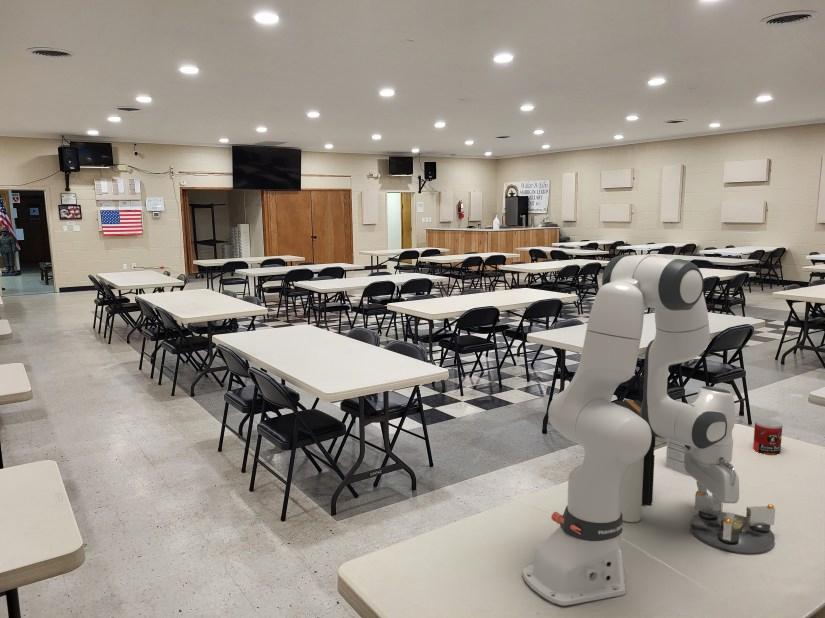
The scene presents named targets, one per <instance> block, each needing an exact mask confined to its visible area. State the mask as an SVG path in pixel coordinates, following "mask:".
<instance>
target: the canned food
mask: <svg viewBox="0 0 825 618" xmlns="http://www.w3.org/2000/svg"><path fill="white" fill-rule="evenodd" d="M754 421H755V422H754V428H753V429H754V432H753V448H752V449H754V450H755V451H754V450H753V451H754V452H756V453H757V452H758V454H760V453H761V455H764V454H765V455H764V456H778V455H777V454H779V455H781V448H782V439H783V438H782V437H783V423H781V422H779V421H777V420H776V419H775V420H774V419H769V418H759V419H755V420H754Z"/></svg>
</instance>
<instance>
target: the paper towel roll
mask: <svg viewBox="0 0 825 618" xmlns="http://www.w3.org/2000/svg"><path fill="white" fill-rule="evenodd" d="M643 465H644V457H643V458H642V459H641V460H639V461H637V462H635V463H633V464H632V465H631V466H630V467H629V469H628V470H627V472H626V475H625V477H624V481H623V486H622V499H621V513H622V515H623V522H628V523H637V522H639V521H641V519H642V509H643V507H642V504H643V503H642V487H643Z"/></svg>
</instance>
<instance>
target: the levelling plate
mask: <svg viewBox="0 0 825 618" xmlns="http://www.w3.org/2000/svg"><path fill="white" fill-rule="evenodd" d="M734 514H735V522H734V531H733V532H735V533H737V534H738V535H739V542H738V543H737V544H728V543H724V542H722V541H720V540H719V539H718V531H719V530H723V528H724V521H725V518H726V515H727V512H726V511H722V515H721V517H720V516H718V519H717V520H715V521H709V520H705V519H702V518H700V517H699V515H698V513H697V514H696V515H693V516H692V517H691V519H690V521H689V522H690V524H689V526H690V528H689V530H690V531H691V532H690V533H691V534H692V535H693V536H694V537H695V538H696V539H698V540H699V541H700V542H702V543H703V544H705V545H708V546H710V547H713V548H714V549H717V550H719V551H724V552H728V553H731V554H732V553H733V554H740V555H761V554H766V553H768V552H771V550H772V549H773V548H774V547H775V534H774V533H773V531H771V529H770V532H768V533H759V532H756V531H753V530H752V529H750V528H749V525H748V524H747V523H746V516H745V515H740V514H736V513H734Z"/></svg>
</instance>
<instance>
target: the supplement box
mask: <svg viewBox="0 0 825 618" xmlns="http://www.w3.org/2000/svg"><path fill="white" fill-rule="evenodd" d="M666 440H667V441H666V455H665V456H666V458H665V460H666V461H665V468H667V469H669V470H672V471H675V472H676V473H677V472H678V473H680V474H682V475H686V476H688V477H692V476H691V475H689V474H688V473H687V472H686V470H685V467H684V452H685V447H684V444H680V443H677V442H674V441H671V440H668V439H666ZM692 478H693V477H692Z"/></svg>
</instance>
